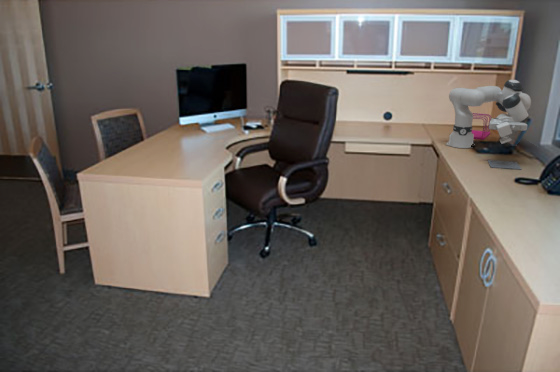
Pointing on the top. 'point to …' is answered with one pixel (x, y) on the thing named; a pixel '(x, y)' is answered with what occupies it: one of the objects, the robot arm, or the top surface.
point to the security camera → (504, 132)
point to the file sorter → (483, 134)
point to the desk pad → (504, 164)
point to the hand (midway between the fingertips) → (509, 128)
